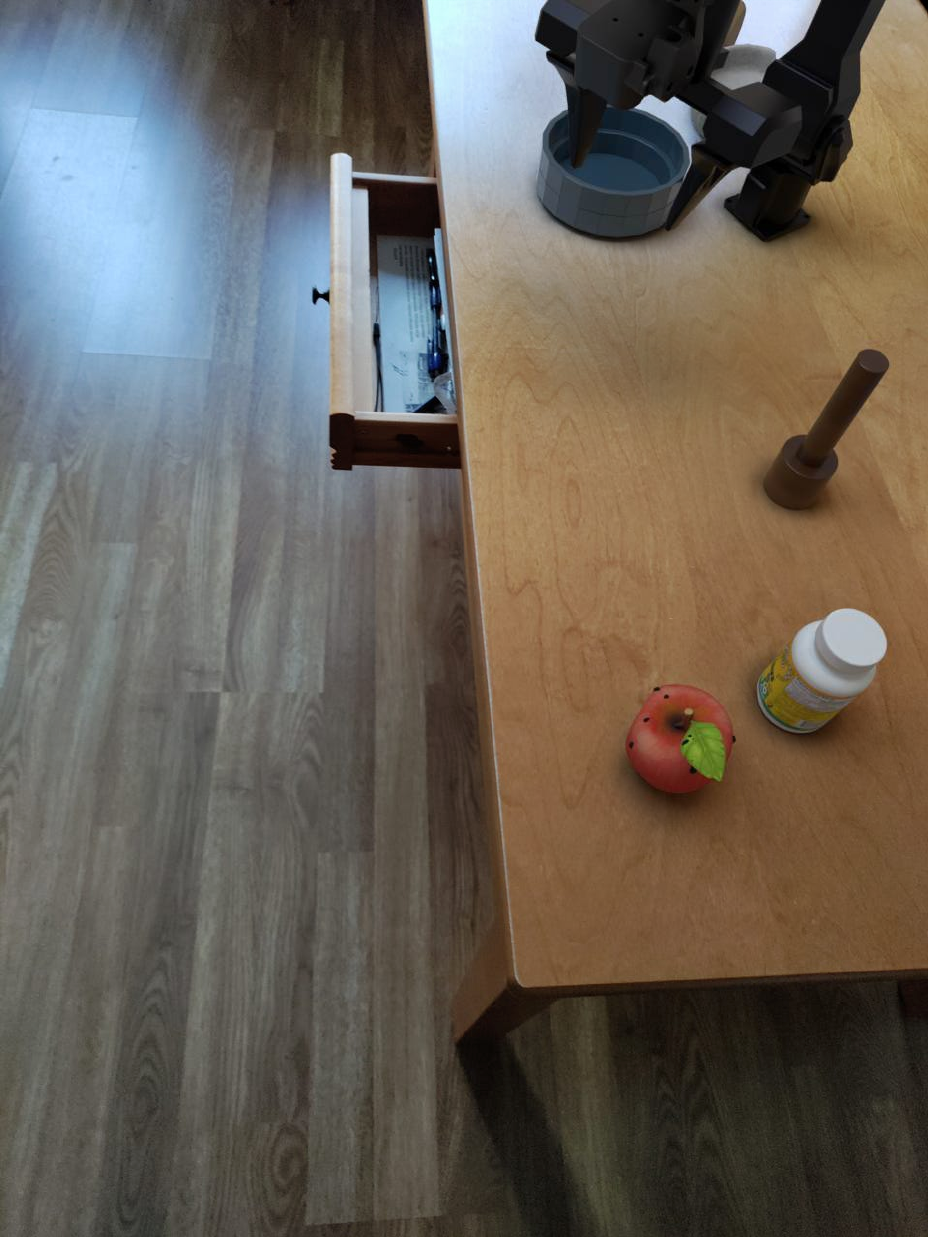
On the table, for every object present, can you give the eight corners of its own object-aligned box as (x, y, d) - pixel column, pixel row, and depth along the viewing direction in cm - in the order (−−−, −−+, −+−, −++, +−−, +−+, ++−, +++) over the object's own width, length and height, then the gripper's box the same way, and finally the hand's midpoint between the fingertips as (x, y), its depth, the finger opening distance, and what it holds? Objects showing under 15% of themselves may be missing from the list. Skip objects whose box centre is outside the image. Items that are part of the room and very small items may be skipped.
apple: (592, 732, 58) (627, 670, 50) (678, 698, 60) (726, 632, 51) (647, 837, 55) (694, 790, 46) (735, 798, 57) (798, 745, 48)
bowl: (617, 136, 91) (629, 88, 87) (703, 214, 86) (720, 167, 82) (507, 174, 87) (513, 126, 82) (591, 259, 82) (602, 212, 77)
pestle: (791, 458, 71) (873, 328, 59) (827, 495, 70) (919, 369, 58) (752, 479, 70) (827, 350, 58) (788, 517, 68) (874, 393, 56)
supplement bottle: (805, 750, 59) (874, 694, 50) (739, 702, 60) (795, 639, 52) (842, 696, 61) (913, 634, 53) (777, 651, 62) (837, 583, 54)
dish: (720, 74, 98) (735, 27, 94) (830, 124, 95) (851, 77, 91) (658, 131, 92) (671, 84, 88) (774, 186, 89) (793, 139, 85)
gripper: (510, -111, 50) (458, 159, 62) (769, 33, 44) (656, 297, 57) (623, -118, 56) (555, 129, 68) (864, 7, 50) (742, 252, 63)
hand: (621, 197), depth 64 cm, fingers open, 9 cm apart
